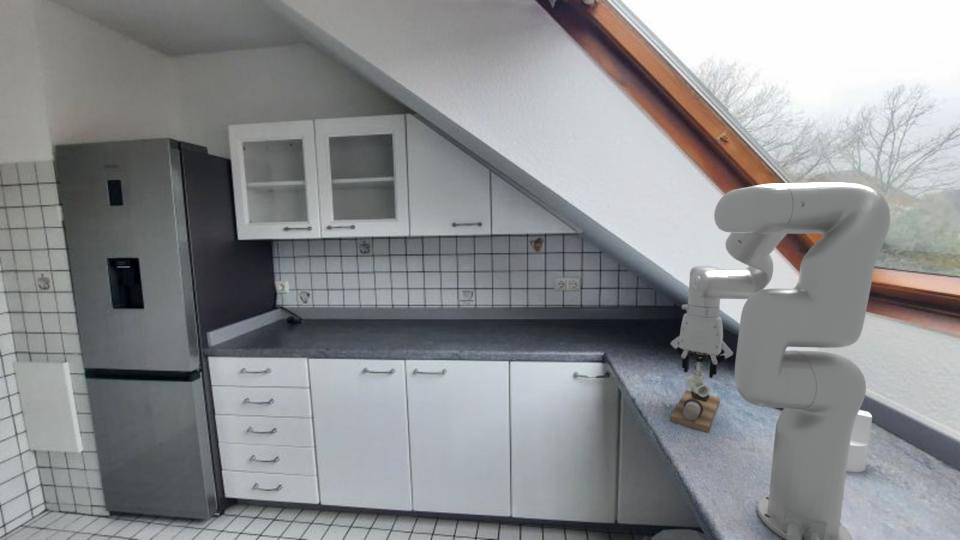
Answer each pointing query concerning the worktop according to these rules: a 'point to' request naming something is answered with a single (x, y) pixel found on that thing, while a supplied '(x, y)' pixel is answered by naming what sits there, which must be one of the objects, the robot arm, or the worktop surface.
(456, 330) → the worktop surface
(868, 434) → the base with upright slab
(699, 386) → the valve
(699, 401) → the pipe board
